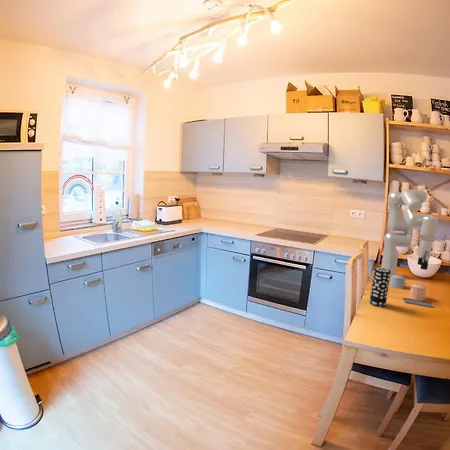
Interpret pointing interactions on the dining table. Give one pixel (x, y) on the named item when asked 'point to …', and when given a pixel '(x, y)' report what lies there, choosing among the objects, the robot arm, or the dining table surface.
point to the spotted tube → (379, 287)
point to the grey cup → (397, 281)
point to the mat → (418, 302)
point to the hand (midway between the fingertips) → (422, 266)
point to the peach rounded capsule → (418, 292)
